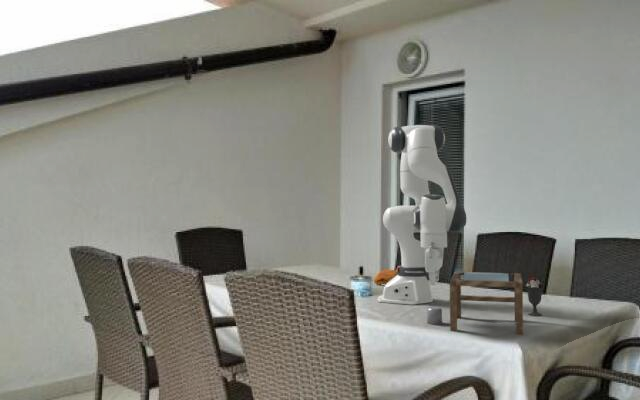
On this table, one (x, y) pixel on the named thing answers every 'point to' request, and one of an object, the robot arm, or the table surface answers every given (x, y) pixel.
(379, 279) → the croissant
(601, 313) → the table surface
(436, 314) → the gray cylinder
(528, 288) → the sundae
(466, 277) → the trapdoor
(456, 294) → the stand
